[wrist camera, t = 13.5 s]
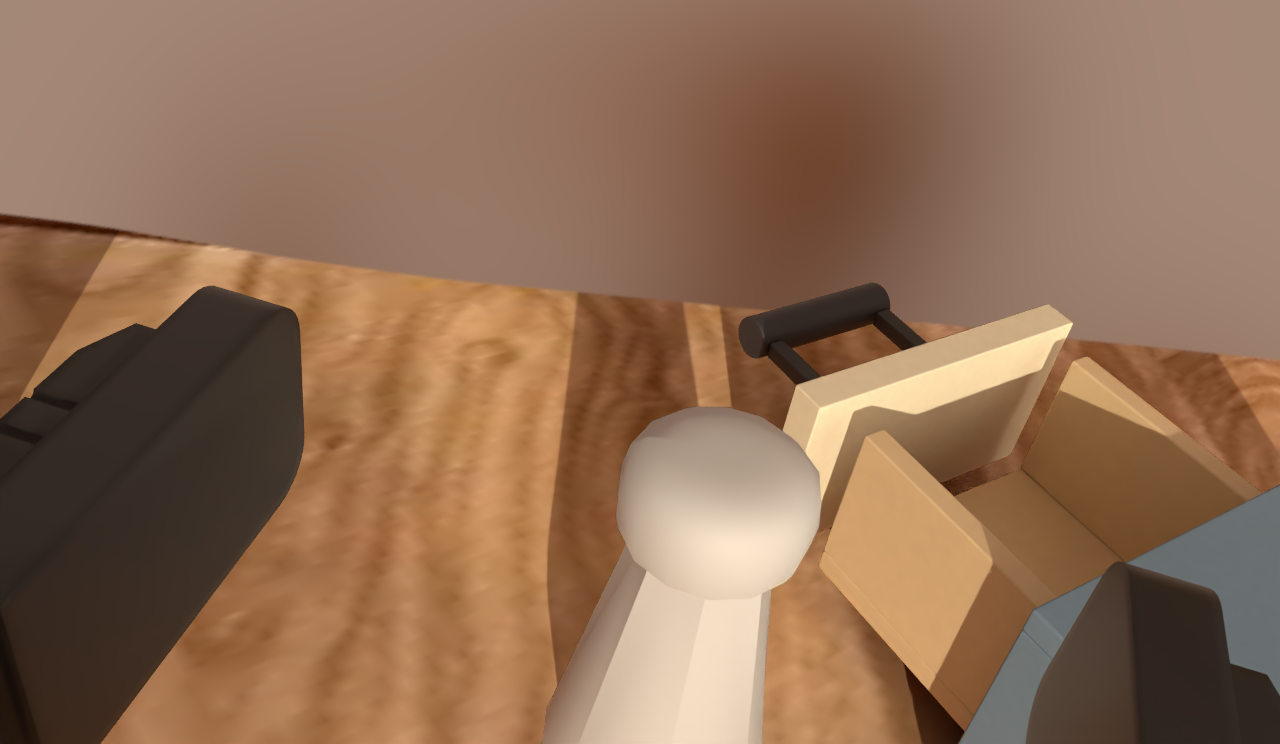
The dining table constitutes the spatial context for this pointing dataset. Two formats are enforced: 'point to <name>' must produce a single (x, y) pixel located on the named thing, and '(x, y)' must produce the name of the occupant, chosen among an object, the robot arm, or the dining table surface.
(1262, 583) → the cabinet
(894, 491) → the drawer
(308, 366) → the dining table surface
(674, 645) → the salt shaker
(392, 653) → the dining table surface
